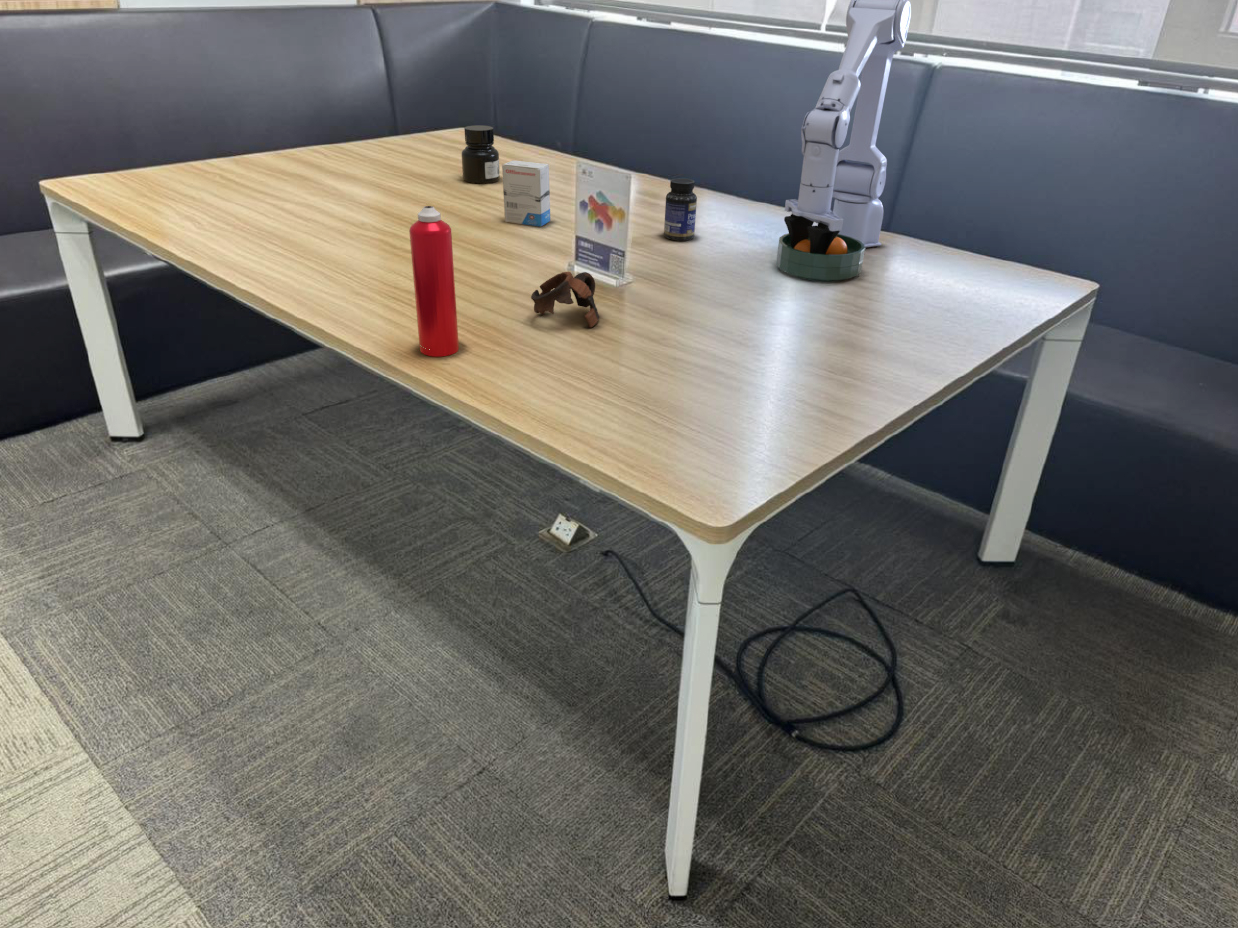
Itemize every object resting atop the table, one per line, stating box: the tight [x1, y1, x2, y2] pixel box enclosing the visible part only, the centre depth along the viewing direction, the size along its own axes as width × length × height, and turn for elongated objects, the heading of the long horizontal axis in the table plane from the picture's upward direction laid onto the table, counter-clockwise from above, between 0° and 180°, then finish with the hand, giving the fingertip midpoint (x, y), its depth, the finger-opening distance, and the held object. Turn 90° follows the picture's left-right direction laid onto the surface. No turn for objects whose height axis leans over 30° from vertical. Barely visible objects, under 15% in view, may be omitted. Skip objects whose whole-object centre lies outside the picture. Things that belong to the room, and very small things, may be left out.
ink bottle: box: [461, 124, 501, 184], centre depth 214 cm, size 10×9×12 cm
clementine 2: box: [826, 236, 847, 255], centre depth 163 cm, size 5×5×6 cm
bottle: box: [408, 205, 460, 358], centre depth 122 cm, size 5×6×20 cm
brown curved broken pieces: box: [530, 271, 600, 329], centre depth 138 cm, size 12×10×8 cm
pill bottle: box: [663, 177, 698, 242], centre depth 177 cm, size 6×6×11 cm
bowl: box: [775, 232, 866, 282], centre depth 163 cm, size 15×15×5 cm
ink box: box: [501, 160, 551, 228], centre depth 183 cm, size 9×5×12 cm, turn 68°
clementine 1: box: [794, 238, 810, 253], centre depth 161 cm, size 5×5×6 cm
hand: (806, 260), depth 162 cm, fingers closed on clementine 1, 5 cm apart
